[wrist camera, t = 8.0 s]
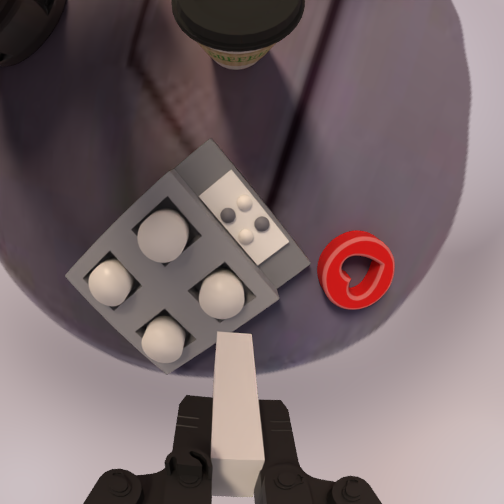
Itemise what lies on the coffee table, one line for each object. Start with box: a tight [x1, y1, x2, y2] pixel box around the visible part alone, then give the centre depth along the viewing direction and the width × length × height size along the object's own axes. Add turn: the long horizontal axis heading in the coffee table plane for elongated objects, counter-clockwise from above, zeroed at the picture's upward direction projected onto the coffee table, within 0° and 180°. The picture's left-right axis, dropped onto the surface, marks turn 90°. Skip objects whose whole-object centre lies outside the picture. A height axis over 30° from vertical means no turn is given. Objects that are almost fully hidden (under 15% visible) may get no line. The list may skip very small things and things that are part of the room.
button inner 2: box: [137, 208, 189, 263], centre depth 31 cm, size 5×5×3 cm
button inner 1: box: [89, 257, 135, 306], centre depth 33 cm, size 5×5×3 cm
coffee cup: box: [172, 0, 305, 70], centre depth 22 cm, size 10×10×15 cm
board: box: [65, 138, 311, 375], centre depth 35 cm, size 18×23×4 cm
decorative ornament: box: [317, 231, 395, 310], centre depth 38 cm, size 10×10×3 cm
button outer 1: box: [142, 316, 186, 363], centre depth 35 cm, size 5×5×3 cm
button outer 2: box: [199, 268, 244, 319], centre depth 34 cm, size 5×5×3 cm
